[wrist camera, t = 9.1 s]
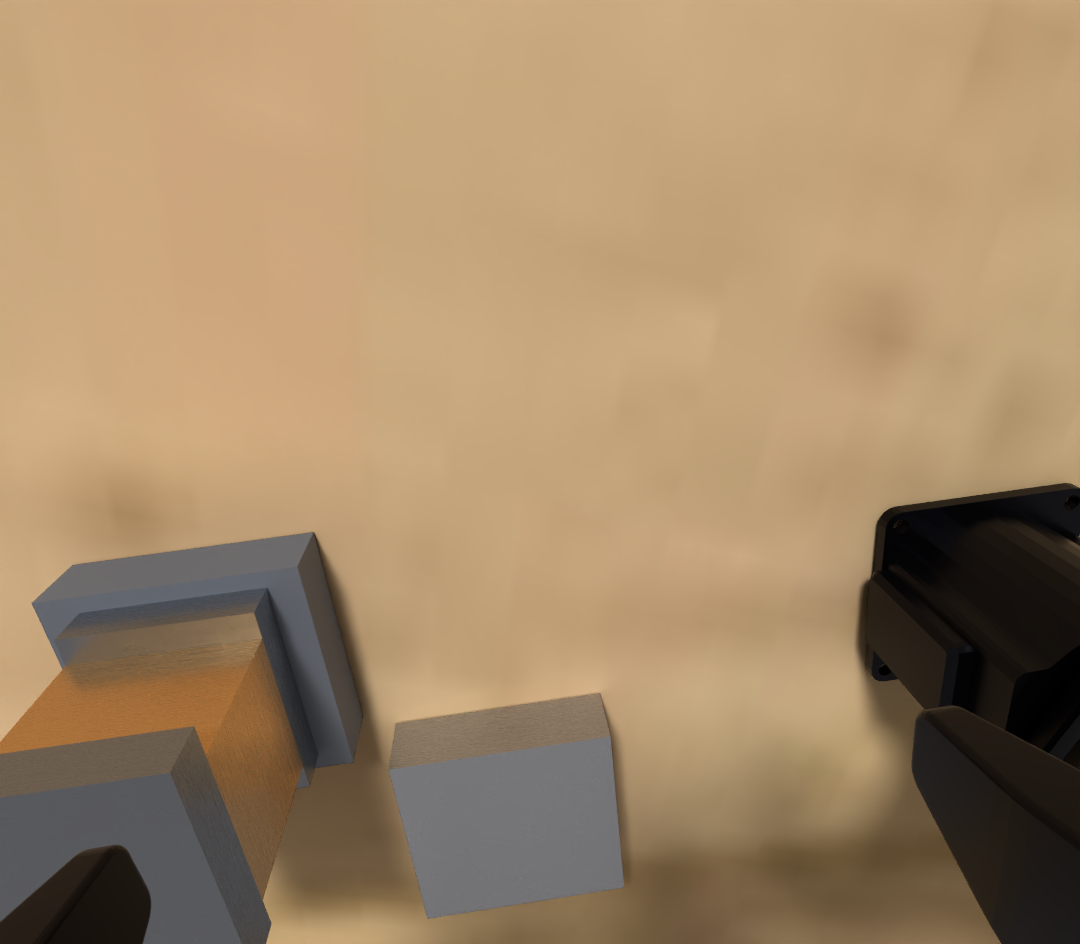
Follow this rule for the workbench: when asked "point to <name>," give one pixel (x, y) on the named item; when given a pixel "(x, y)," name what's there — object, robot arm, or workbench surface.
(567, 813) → the stand
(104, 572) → the stand
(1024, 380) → the workbench surface
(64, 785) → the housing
